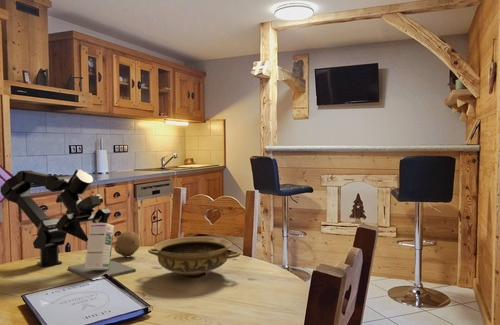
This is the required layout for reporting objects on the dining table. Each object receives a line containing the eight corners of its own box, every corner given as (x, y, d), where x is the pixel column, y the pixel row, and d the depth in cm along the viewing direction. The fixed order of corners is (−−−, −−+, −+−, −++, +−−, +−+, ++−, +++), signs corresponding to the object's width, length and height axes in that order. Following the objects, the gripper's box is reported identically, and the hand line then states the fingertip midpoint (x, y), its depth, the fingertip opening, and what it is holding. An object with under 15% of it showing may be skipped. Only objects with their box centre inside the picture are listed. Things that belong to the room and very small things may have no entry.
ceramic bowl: (130, 284, 110) (129, 250, 110) (165, 263, 133) (165, 235, 133) (230, 290, 103) (229, 254, 103) (249, 267, 127) (248, 237, 127)
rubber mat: (68, 268, 128) (68, 266, 128) (108, 261, 138) (108, 258, 138) (93, 280, 114) (93, 278, 114) (135, 271, 124) (135, 268, 124)
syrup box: (101, 269, 117) (107, 222, 122) (83, 269, 118) (90, 222, 122) (109, 269, 123) (115, 225, 127) (92, 269, 123) (98, 225, 128)
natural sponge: (145, 256, 144) (145, 230, 144) (124, 261, 137) (124, 233, 137) (132, 253, 150) (132, 228, 150) (111, 257, 143) (111, 231, 143)
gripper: (62, 188, 119) (88, 226, 114) (107, 185, 136) (131, 218, 131) (45, 212, 122) (69, 250, 117) (91, 206, 139) (114, 239, 134)
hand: (98, 238), depth 125 cm, fingers open, 9 cm apart
